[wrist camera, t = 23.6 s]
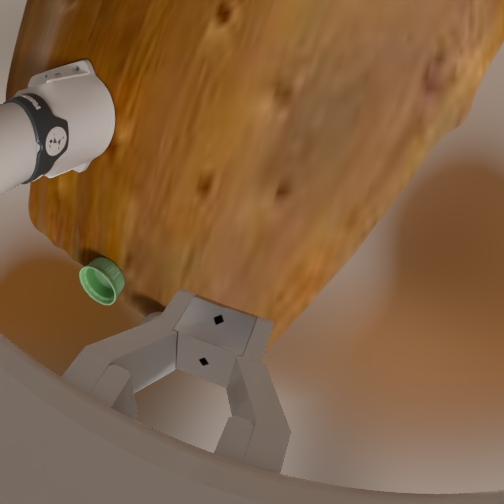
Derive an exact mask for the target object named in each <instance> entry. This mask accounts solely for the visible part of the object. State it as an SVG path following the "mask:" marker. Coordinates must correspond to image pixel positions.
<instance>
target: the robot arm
mask: <svg viewBox="0 0 504 504" xmlns="http://www.w3.org/2000/svg"><path fill="white" fill-rule="evenodd" d="M78 68H79V69H78ZM114 127H115V111H114V105H113V101H112V98H111V95H110V93H109V91H108V89H107V88H106V86H105V85H104V84H103V82H102V81H101V80H100V79H99V78H98V77H97V76H96V74H95V72H94V69H93V67H92V64H91V62H90V61H89V60H82V61H78V62H75V63H71V64H68V65H64V66H61V67H58V68H55V69H51V70H48V71H45V72H42V73H39V74H37V75H34V76H32V77H31V79H30V81H29V84H28V88H26V89H23V90H19V91H17V92H16V94H15V96H14V97H12V98H10V99H9V100H7V101H6V102H4V103H3V104H2V105H1V104H0V197H1V196H2V195H4V194H5V193H7V192H8V191H9V190H11V189H13V188H15V187H16V186H18V185H19V184H27V183H29V182H31V181H35V180H37V179H39V178H40V177H41V176H43V175H44V176H47V177H48V178H53V177H55V176H58V175H60V174H63V173H65V172H67V171H70V170H72V169H73V170H75V171H76V172H83V171H85V170H86V169H87V167H88V166H89V164H90V162H91V161H92V160H93V159H94V158H96V157H98V156H99V155H101V154H102V153H103V152H104V151H105V150H106V148H107V147H108V145H109V143H110V141H111V139H112V136H113V132H114ZM257 317H258V318H257ZM273 325H274V321H271V320H268V319H265V318H262V317H259V316H256V315H253V314H250V313H247V312H244V311H241V310H238V309H235V308H232V307H229V306H226V305H223V304H221V303H218V302H216V301H213V300H211V299H208V298H206V297H203V296H201V295H198V294H195V293H192V292H190V291H187V290H185V289H183V288H182V289H180V290H179V291H178V292H177V293H176V295H175V296H174V297H173V299H172V300H171V302H170V303H169V304H168V306H167V307H166V309H165V310H164V312H163V313H162V314H161V316H160V317H159V319H158V320H157V322H156V323H155V322H153V321H150V322H148V323H145V324H142V325H140V326H137V327H135V328H132V329H130V330H127V331H125V332H122V333H119V334H117V335H114V336H112V337H109V338H107V339H104V340H101V341H99V342H96V343H93V344H91V345H88V346H86V347H85V348H84V349H83V350H82V352H81V353H80V354H79V355H78V356H77V358H76V359H75V360H74V362H73V363H72V364H71V365H70V367H69V368H68V369H67V371H66V372H65V373H64V374H63V376H62V377H59V376H58V375H56V374H55V373H53V372H52V371H50V370H49V369H47V368H46V367H45V366H43V365H41V364H40V363H39V362H37V361H36V360H35V359H33V358H32V357H31V356H29V355H28V354H26V353H25V352H24V351H22V350H21V349H20V348H19V347H17V346H16V345H15V344H13V343H12V342H11V341H9V340H8V339H7V338H6V337H5V336H3V335H2V334H1V333H0V504H504V490H499V491H490V492H479V493H463V494H462V493H460V494H413V493H396V492H384V491H373V490H365V489H357V488H349V487H342V486H337V485H331V484H325V483H320V482H315V481H310V480H305V479H301V478H296V477H291V476H288V475H283V474H280V472H281V468H282V465H283V461H284V457H285V453H286V450H287V446H288V442H289V437H290V433H291V431H290V428H289V426H288V423H287V420H286V418H285V415H284V412H283V410H282V407H281V405H280V402H279V399H278V396H277V394H276V391H275V388H274V386H273V383H272V381H271V377H270V375H269V372H268V369H267V367H266V365H264V364H262V363H261V362H262V359H263V356H264V353H265V350H266V347H267V344H268V341H269V338H270V335H271V332H272V328H273ZM175 368H177V369H180V370H182V371H185V372H187V373H190V374H193V375H195V376H198V377H201V378H203V379H205V380H208V381H210V382H213V383H215V384H218V385H220V386H223V387H225V388H227V389H226V390H227V395H228V399H229V404H230V408H231V413H232V417H229V418H228V421H227V423H226V425H225V428H224V431H223V433H222V435H221V438H220V440H219V442H218V445H217V447H216V450H215V452H214V453H211V452H208V451H206V450H203V449H201V448H198V447H195V446H193V445H190V444H188V443H185V442H182V441H180V440H178V439H175V438H173V437H171V436H168V435H166V434H164V433H162V432H160V431H157V430H155V429H153V428H151V427H149V426H146V425H144V424H142V423H140V422H138V421H136V420H134V419H135V417H136V416H137V414H138V412H137V407H136V403H135V398H134V393H135V392H137V391H139V390H141V389H143V388H144V387H146V386H148V385H150V384H151V383H153V382H155V381H156V380H158V379H160V378H162V377H163V376H165V375H167V374H168V373H170V372H172V371H173V370H175Z"/></svg>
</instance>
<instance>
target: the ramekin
mask: <svg viewBox="0 0 504 504" xmlns="http://www.w3.org/2000/svg"><path fill="white" fill-rule="evenodd" d="M79 277H80V281H81V284H82V286H83V288H84V289H85V291H86V292H87V293H88V294H89V295H90V296H91V297H92V298H93V299H94V300H95V301H97V302H99V303H101V304H104V305H111V304H113V303H114V302H115V300H116V298H117V296H118V295H119V293H120V292H121V291H122V289H123V288H124V285H125V280H124V276H123V274H122V272H121V270H120V269H119V267H118V266H117V265H116V264H115V263H114V262H112V261H111V260H109V259H107V258H104V257H98V258H96V259H95V260H93V261H92V262H90V263H89V264H88V265H86V266H84V267H83V268H82V269H81V270H80V273H79Z"/></svg>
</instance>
